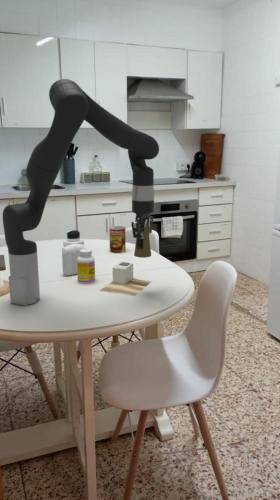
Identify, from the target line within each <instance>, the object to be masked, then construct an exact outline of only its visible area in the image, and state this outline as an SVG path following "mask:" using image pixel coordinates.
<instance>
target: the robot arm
mask: <svg viewBox="0 0 280 500" xmlns="http://www.w3.org/2000/svg"><path fill="white" fill-rule="evenodd" d="M48 97H49V101H50V104H51V107H52V108H53V111H54V115H53V119H52V123H51V125H50V129H49V131H48V133H47V134H46V136H45V137H44V138H43V139H42V140H40V142H39V143H38V144H37V145H35V147H34V148H33V150H32V152H31V154H30V157H29V159H28V161H27V165H26V169H25V175H26V179H27V182H28V184H29V187H30V192H29V195H28V197H27V199H26V201H25V202H22V203H14V204H8V205H6V206H5V207H4V208H3V211H2V225H3V232H4V240H5V243H6V246H7V252H8V262H9V263H8V265H9V276H8V288H9V299H10V303H11V304H13V305H19V306H24V307H25V306H28V305H32V304H35V303H37V302H39V301H40V299H41V293H40V291H41V290H40V275H39V262H38V260H39V259H38V258H39V257H38V246H37V243H36V242H35V241H33V240H28V239H25V237H24V232H29V231H32V230H34V229H36V228H38V227H39V226H40V223H41V220H42V217H43V214H44V210H45V208H46V204H47V201H48V199H49V196H50V193H51V191H52V189H53V186H54V184H55V181H56V180H57V177H58V175H59V172H60V170H61V169H62V165H63V163H64V160H65V158H66V156H67V153H69V152H68V151H69V149H70V147H71V144H72V142H73V140H74V139H75V137H76V135H77V133H78V132H79V129H80V128H81V126H82V125H83V123H84V121H85V122H86V123H88V125H90V126H91V127H93V128H94V130H96V131H97V132H98V133H99V134H100V135H101V136H103V137H104V138H105V139H107V140H108V141H109V142H111V143H113V144H114V145H116V146H118V147H120V148H121V149H123V150H127V155H128V160H129V164H130V168H131V171H132V189H131V212H132V213H133V214H135V221H131V222H130V223H131V224H130V225H131V231H132V236H133V237H132V238H135V239H136V238H137V249H141V250H142V249H143V236H144V234H143V232H145V227H146V225H149V226H150V233H149V236H151V234H152V232H153V226H154V218H155V217H154V216H152V215H151V214H152V213H154V212H155V188H154V184H155V183H154V181H155V180H154V177H155V175H154V169H153V168H152V167H150V166H148V165H147V162H146V161H147V160H148V161H149V160H153V159H155V158H156V157H157V156H158V155H159V152H160V145H159V142H158V141H157V140H156V138H154V137H153V136H151V135H149V134H147V133H144V132H142V131H140V130H137V129H134V128H133V127H132V126H131V125H129V124H128V123H126V122H125V121H123V120H122V119H120V118H119V117H117V116H116V115H114V114H113V113H112V112H110V111H108V110H107V109H105V108H104V107H103V106H101V105H100V104H99V103H98V102H96V100H94V99H93V98H91V96H90V95H88V94H87V93H86V92H85V91H84V90H83V88H81V87H80V86H79V84H77V82H75V81H73V80H71V79H68V78H60V79H58V80H56V81H54V83H52V84H51V86H50V88H49V91H48ZM140 228H143V229H142V230H140Z"/></svg>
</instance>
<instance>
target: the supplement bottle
mask: <svg viewBox="0 0 280 500" xmlns="http://www.w3.org/2000/svg"><path fill="white" fill-rule="evenodd" d="M92 253H93V250H92V249H89V248H86V249H82V250H80V256H79V257H78V259H77V269H78V274H77V282H78V284H82V285H90V284H93V283H95V282H96V263H95V261H96V259H95V257H94V256H93V255H92Z"/></svg>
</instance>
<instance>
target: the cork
mask: <svg viewBox="0 0 280 500" xmlns="http://www.w3.org/2000/svg"><path fill="white" fill-rule="evenodd" d="M142 229H143V228H140V230H142ZM149 233H150V226H149V225H146V227H145V232H143V234H144V236H143V249H142V250H141V249H137V238H135V246H134V254H133V256H134V257H136V258H141V259H143V258H145V259H146V258H150V257H152V250H151V242H150V235H149ZM150 234H151V233H150Z"/></svg>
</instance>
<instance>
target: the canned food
mask: <svg viewBox="0 0 280 500" xmlns="http://www.w3.org/2000/svg"><path fill="white" fill-rule="evenodd" d="M109 252H110V253H111V254H123V253H125V252H127V251H126V227H125V226H122V225H113V226H110V227H109Z"/></svg>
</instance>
